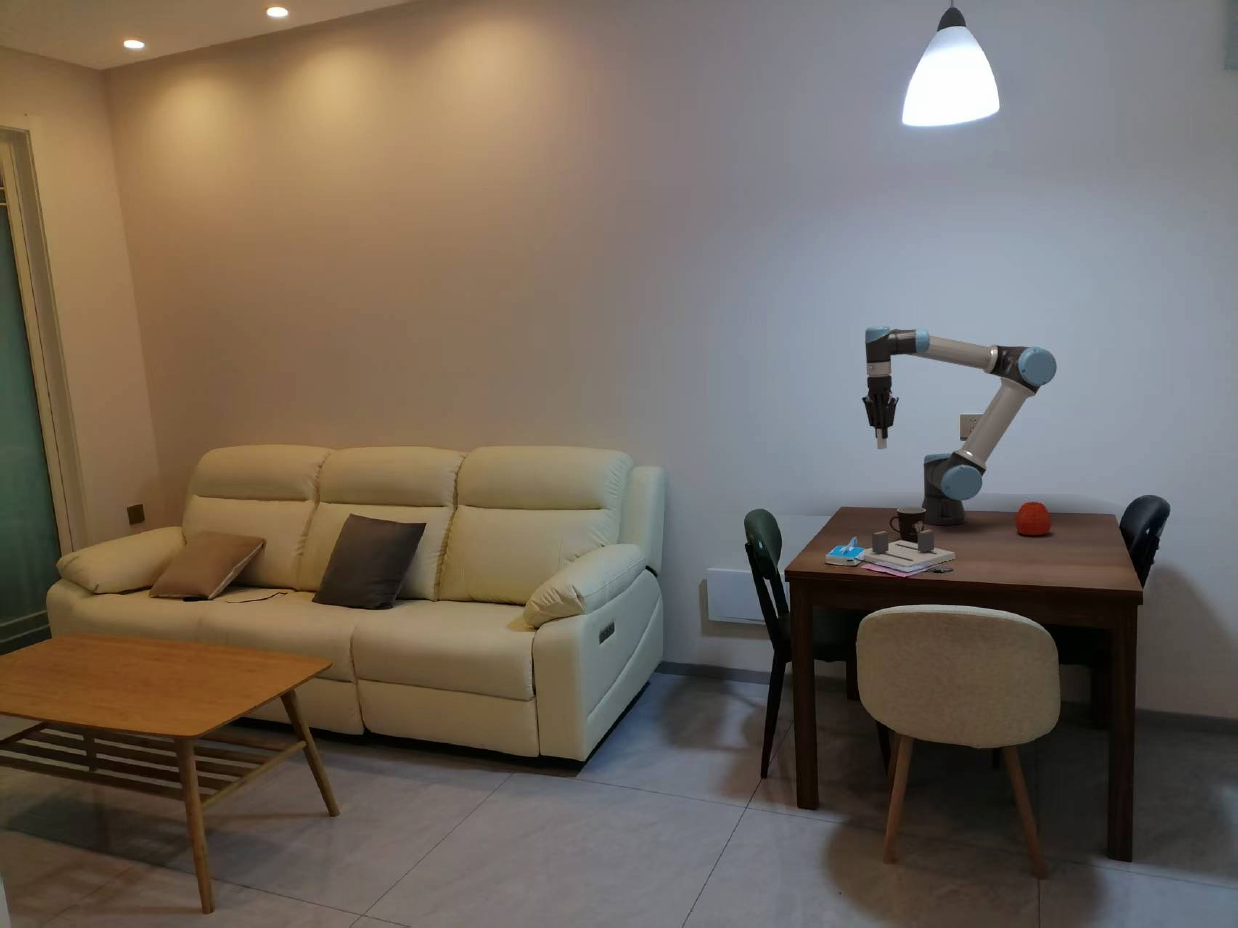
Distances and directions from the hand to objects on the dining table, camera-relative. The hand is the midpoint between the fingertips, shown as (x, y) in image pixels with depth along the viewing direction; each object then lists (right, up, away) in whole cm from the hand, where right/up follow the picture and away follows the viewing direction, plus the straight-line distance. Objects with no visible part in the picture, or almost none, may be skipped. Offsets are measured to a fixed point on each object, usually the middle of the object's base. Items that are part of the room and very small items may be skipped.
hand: (882, 448), depth 283 cm
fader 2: (+5, -30, -26) cm, 40 cm away
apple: (+45, -27, -7) cm, 53 cm away
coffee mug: (+6, -30, -6) cm, 31 cm away
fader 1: (-8, -31, -24) cm, 40 cm away
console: (-1, -33, -25) cm, 41 cm away
